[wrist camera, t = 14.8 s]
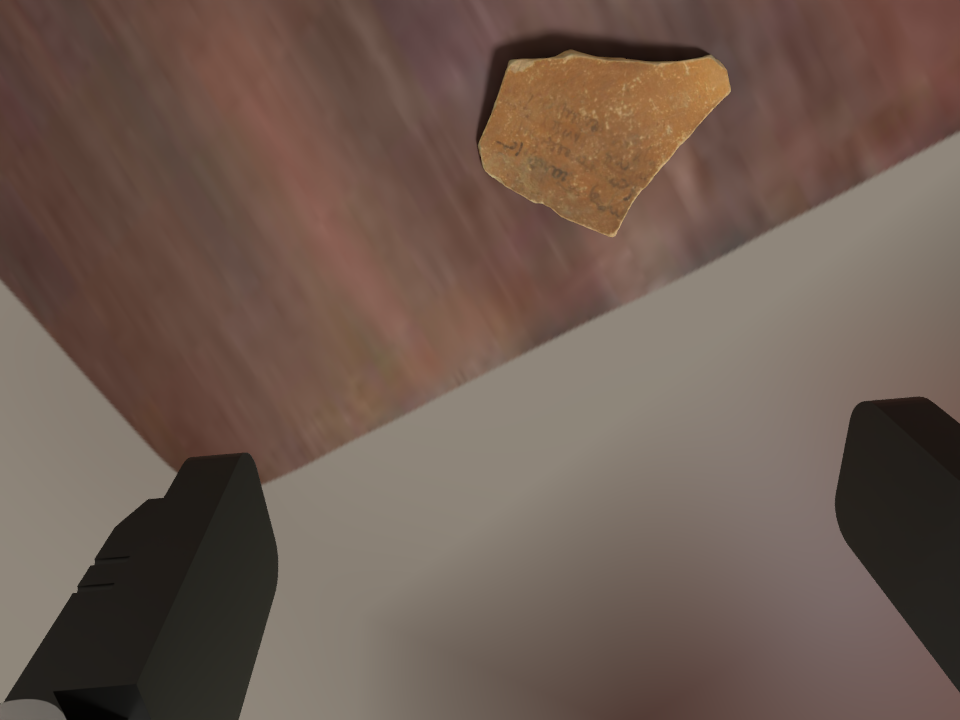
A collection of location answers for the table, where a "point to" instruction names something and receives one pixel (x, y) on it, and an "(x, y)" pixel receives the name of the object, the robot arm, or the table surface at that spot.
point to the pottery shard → (594, 129)
